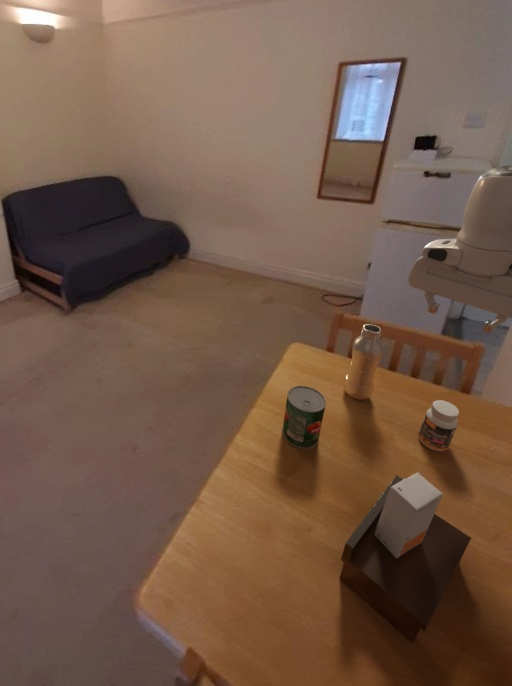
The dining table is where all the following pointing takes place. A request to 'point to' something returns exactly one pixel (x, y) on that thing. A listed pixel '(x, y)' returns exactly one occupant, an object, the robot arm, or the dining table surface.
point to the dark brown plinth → (402, 570)
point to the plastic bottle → (364, 363)
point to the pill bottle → (439, 425)
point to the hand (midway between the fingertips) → (458, 321)
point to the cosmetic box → (407, 514)
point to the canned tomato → (303, 416)
